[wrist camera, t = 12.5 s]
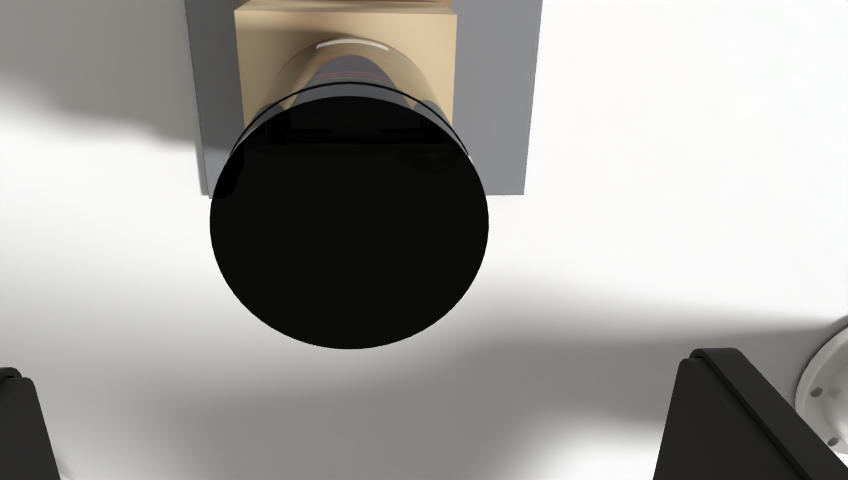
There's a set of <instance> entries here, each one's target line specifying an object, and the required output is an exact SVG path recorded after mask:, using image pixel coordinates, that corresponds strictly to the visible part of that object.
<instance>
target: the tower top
mask: <svg viewBox="0 0 848 480" xmlns="http://www.w3.org/2000/svg"><path fill="white" fill-rule="evenodd" d="M234 17H235V27H236V38H237V49H238V60H239V71H240V81H241V92H242V103H243V114H244V125H245V128H246V127H247V126H248V125H249V123H250V121H251V120H252V118H253V116H254V114H255V112H256V111H257V109H258V107H259V105H260V103H261V102H262V100H263V98H264V96H265V94H266V92H267V91H268V89H269V87H270V85H271V83H272V82H273V80H274V78H275V77H276V75H277V73H278V72H279V71H280V70H281V68H282V67H283V66H284V65H285V64H286V63H287V62H288V61H289V60H290V59H291V58H292V57H293V56H294V55H296V54H297V53H298V52H300V51H301V50H303V49H304V48H306V47H308V46H310V45H312V44H314V43H317V42H320V41H322V40H326V39H330V38H335V37H346V36H354V37H363V38H369V39H373V40H376V41H380V42H382V43H385V44H387V45H389V46H391V47H393V48H395V49H397V50H398V51H400V52H401V53H403V54H404V55H405V56H406V57H408V58H409V59H410V60H411V61H412V62H413V63H414V64H415V65H416V66H417V67H418V68H419V69H420V71H421V72H422V73H423V74H424V76H425V78H426V79H427V81H428V82H429V84H430V86H431V88H432V90H433V92H434V94H435V96H436V98H437V99H438V101H439V103H440V105H441V107H442V109H443V111H444V113H445V115H446V117H447V118H448V120H449V122H450V124H451V126H452V116H453V94H454V73H455V51H456V30H457V14H456V13H454V12H453V11H452V10H450V9H449V8H447V7H446V6H445V5H443V4H442V3H441V2H398V1H348V0H250V1H249V2H247V3H246V4H244V5H242V6H241V7H239V8H237V9H236V10H234Z"/></svg>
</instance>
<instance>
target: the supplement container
mask: <svg viewBox="0 0 848 480" xmlns="http://www.w3.org/2000/svg"><path fill="white" fill-rule="evenodd" d="M488 231H489V215H488V206H487V201H486V196H485V192H484V189H483V186H482V183H481V180H480V177H479V175H478V173H477V171H476V169H475V167H474V165H473V163H472V160H471V158H470V156H469V154H468V152H467V150H466V147H465V146H464V144H463V142H462V141H461V139H460V138H459V136H458V134H457V133H456V132H455V131H454V129H453V128H452V126H451V124H450V122H449V120H448V118H447V117H446V115H445V113H444V111H443V109H442V107H441V105H440V103H439V101H438V99H437V98H436V96H435V94H434V92H433V90H432V88H431V86H430V84H429V82H428V81H427V79H426V78H425V76H424V74H423V73H422V72H421V71H420V69H419V68H418V67H417V66H416V65H415V64H414V63H413V62H412V61H411V60H410V59H409V58H408V57H406V56H405V55H404V54H403V53H401V52H400V51H398V50H397V49H395V48H393V47H391V46H389V45H387V44H385V43H382V42H380V41H376V40H373V39H369V38H363V37H354V36H346V37H335V38H330V39H326V40H322V41H320V42H317V43H314V44H312V45H310V46H308V47H306V48H304V49H303V50H301V51H300V52H298V53H297V54H296V55H294V56H293V57H292V58H291V59H290V60H289V61H288V62H287V63H286V64H285V65H284V66H283V67H282V68H281V70H280V71H279V72H278V73H277V75H276V77H275V78H274V80H273V82H272V83H271V85H270V87H269V89H268V91H267V92H266V94H265V96H264V98H263V100H262V102H261V103H260V105H259V107H258V109H257V111H256V112H255V114H254V116H253V118H252V120H251V121H250V123H249V125H248V126H247V127H246V128H245V130H244V131H243V132H242V133H241V135H240V137H239V138H238V140H237V142H236V143H235V145H234V146H233V148H232V151H231V153H230V155H229V157H228V159H227V162H226V163H225V165H224V167H223V169H222V171H221V174H220V176H219V178H218V180H217V183H216V186H215V189H214V192H213V197H212V202H211V209H210V235H211V242H212V247H213V251H214V255H215V259H216V261H217V264H218V266H219V269H220V271H221V273H222V275H223V277H224V279H225V281H226V283H227V284H228V286H229V287H230V289H231V290H232V292H233V293H234V294H235V296H236V297H237V298H238V299H239V300H240V302H241V303H242V304H243V305H244V306H245V307H246V308H247V309H248V310H249V311H250V312H251V313H252V314H254V315H255V316H256V317H257V318H259V319H260V320H261V321H262V322H264V323H265V324H267V325H268V326H270V327H271V328H273V329H275V330H277V331H279V332H280V333H282V334H284V335H286V336H289V337H291V338H293V339H296V340H299V341H302V342H305V343H308V344H312V345H316V346H321V347H327V348H334V349H364V348H373V347H378V346H383V345H388V344H391V343H394V342H398V341H401V340H403V339H406V338H408V337H411V336H413V335H415V334H417V333H419V332H421V331H423V330H424V329H426V328H428V327H429V326H431V325H432V324H434V323H435V322H437V321H438V320H439V319H441V318H442V317H443V316H444V315H446V314H447V313H448V312H449V311H450V310H451V309H452V308H453V307H454V306H455V305H456V304H457V303H458V302H459V300H460V299H461V298H462V297H463V296H464V294H465V293H466V291H467V290H468V289H469V287H470V285H471V284H472V282H473V280H474V279H475V277H476V275H477V273H478V270H479V268H480V266H481V263H482V260H483V257H484V254H485V250H486V245H487V240H488Z"/></svg>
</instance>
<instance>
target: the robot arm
mask: <svg viewBox="0 0 848 480" xmlns="http://www.w3.org/2000/svg"><path fill="white" fill-rule="evenodd" d="M795 409H796V411H795V410H794V409H793V408H792V407H791V406H790V405H789V404H788V403H787V401H786V400H785V399H784V398H783V397H782V396H781V395H780V394H779V393H778V392H777V391H776V390H775V389H774V387H773V386H772V385H771V384H770V383H769V382H768V381H767V380H766V379H765V378H764V377H763V376H762V374H761V373H760V372H759V371H758V370H757V369H756V368H755V367H754V366H753V365H752V364H751V363H750V361H749V360H748V359H747V358H746V357H745V356H744V355H743V354H742V353H741V352H740V351H739V350H737V349H735V348H700V349H695V350H693V352H692V353H691V354H690V357H689V358H688V359H683V360H682V361H681V362H680V364H679V367H678V371H677V376H676V380H675V385H674V389H673V393H672V398H671V402H670V407H669V411H668V415H667V420H666V424H665V429H664V433H663V437H662V442H661V446H660V451H659V455H658V459H657V464H656V468H655V473H654V477H653V480H848V467H847V466H846V465H845V464H844V463H843V462H842V461H841V460H840V459H839V458H838V457H837V456H836V454H835V453H834V452H836V453H839V454H848V327H847V328H845V329H844V330H842V331H841V332H840V333H838V334H837V335H835V336H834V337H833V338H832V339H831V340H830V341H828V342H827V343H826V344H825V345H824V346H823V347H822V348H821V349H820V350H819V351H818V353H817V354H816V355H815V356H814V357H813V359H812V360H811V361H810V363H809V364H808V366H807V368H806V369H805V371H804V373H803V374H802V377H801V380H800V382H799V385H798V387H797V392H796V398H795ZM0 480H60V476H59V472H58V469H57V465H56V462H55V458H54V454H53V451H52V447H51V443H50V440H49V436H48V433H47V429H46V425H45V422H44V418H43V414H42V411H41V407H40V404H39V400H38V396H37V393H36V389H35V386H34V384H33V381H32V380H31V379H30V378H26V377H24V378H22V376H21V374H20V372H19V371H18V370H17V369H15V368H12V367H3V368H0Z"/></svg>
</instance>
